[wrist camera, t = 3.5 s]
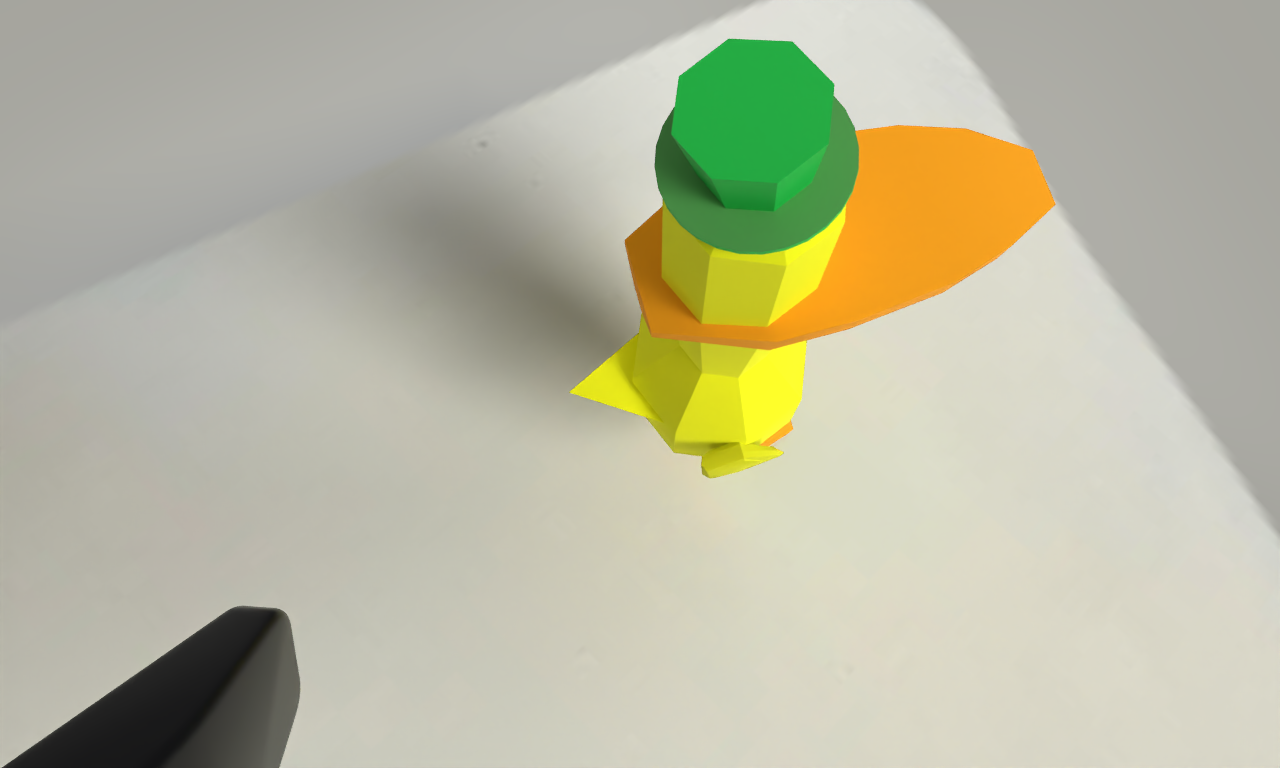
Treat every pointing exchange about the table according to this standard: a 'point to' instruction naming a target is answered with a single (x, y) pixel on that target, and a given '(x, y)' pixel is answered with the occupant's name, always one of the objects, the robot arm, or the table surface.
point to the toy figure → (791, 243)
